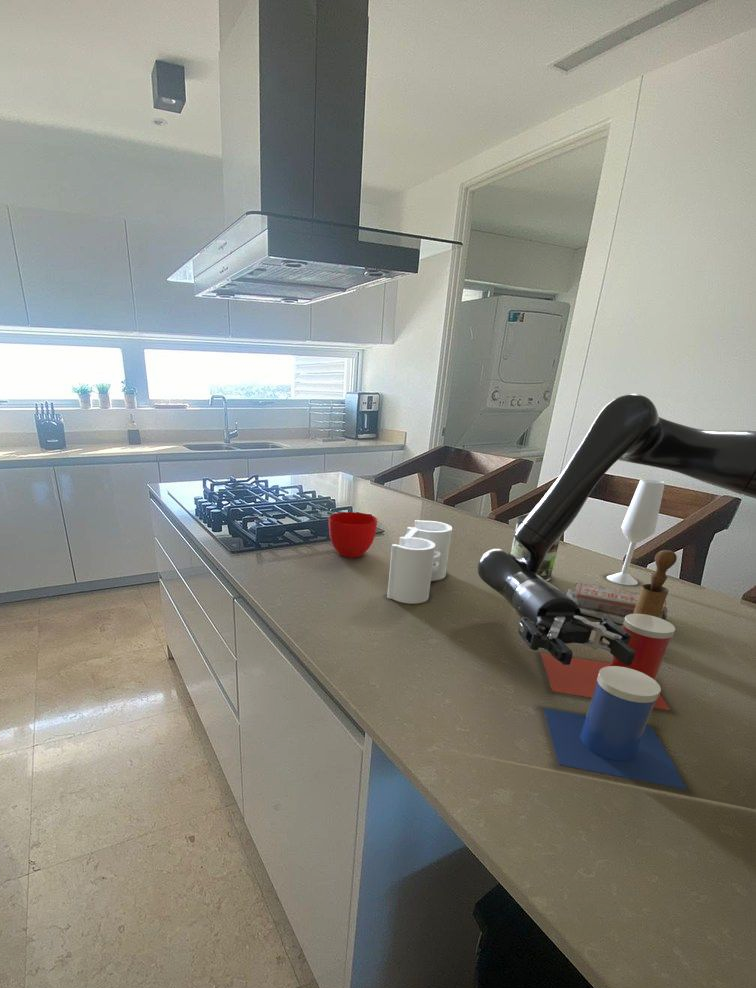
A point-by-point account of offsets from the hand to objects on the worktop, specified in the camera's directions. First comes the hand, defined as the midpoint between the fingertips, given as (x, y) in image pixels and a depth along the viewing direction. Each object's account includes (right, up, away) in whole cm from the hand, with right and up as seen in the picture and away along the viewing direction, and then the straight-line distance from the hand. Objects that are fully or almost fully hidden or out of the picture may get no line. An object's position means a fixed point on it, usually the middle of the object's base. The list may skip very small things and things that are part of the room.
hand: (600, 659), depth 66 cm
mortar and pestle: (+21, 0, +24) cm, 32 cm away
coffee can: (+15, +14, +55) cm, 59 cm away
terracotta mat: (+7, -5, +13) cm, 15 cm away
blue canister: (0, -11, -2) cm, 11 cm away
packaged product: (+24, +5, +36) cm, 43 cm away
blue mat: (0, -11, -2) cm, 11 cm away
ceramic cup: (-27, +21, +70) cm, 77 cm away
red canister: (+13, -5, +13) cm, 19 cm away
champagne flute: (+38, +13, +53) cm, 67 cm away
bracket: (-13, +12, +49) cm, 52 cm away
